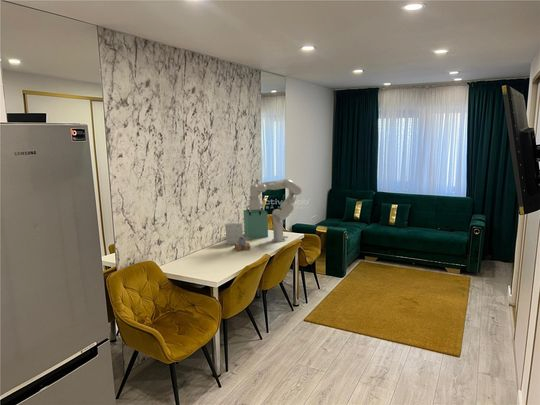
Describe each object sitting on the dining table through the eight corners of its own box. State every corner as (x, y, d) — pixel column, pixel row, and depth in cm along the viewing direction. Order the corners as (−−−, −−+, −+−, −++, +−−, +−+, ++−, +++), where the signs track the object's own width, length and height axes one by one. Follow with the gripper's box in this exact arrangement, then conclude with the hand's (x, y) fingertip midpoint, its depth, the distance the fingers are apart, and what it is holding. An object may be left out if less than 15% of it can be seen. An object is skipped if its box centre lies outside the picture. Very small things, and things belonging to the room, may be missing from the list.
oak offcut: (247, 245, 369) (247, 242, 369) (249, 246, 366) (249, 242, 365) (243, 245, 367) (243, 242, 366) (246, 246, 364) (245, 243, 363)
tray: (247, 246, 363) (247, 242, 363) (250, 249, 352) (249, 245, 351) (234, 247, 360) (234, 243, 360) (237, 251, 349) (237, 247, 348)
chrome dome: (262, 246, 364) (262, 244, 364) (263, 247, 360) (263, 246, 360) (258, 246, 363) (258, 245, 363) (259, 247, 359) (259, 246, 359)
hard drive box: (243, 242, 379) (242, 222, 376) (242, 244, 372) (241, 224, 368) (227, 242, 381) (227, 222, 378) (226, 244, 373) (225, 224, 370)
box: (244, 233, 414) (243, 210, 410) (263, 232, 419) (262, 208, 415) (248, 238, 392) (247, 214, 387) (268, 237, 397) (267, 212, 392)
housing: (245, 245, 352) (245, 238, 351) (240, 246, 351) (240, 239, 350) (244, 243, 360) (243, 236, 359) (238, 243, 359) (238, 237, 358)
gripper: (246, 198, 359) (247, 216, 361) (264, 197, 363) (264, 215, 366) (244, 197, 366) (245, 215, 368) (262, 196, 370) (262, 213, 373)
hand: (255, 215), depth 367 cm, fingers open, 9 cm apart
